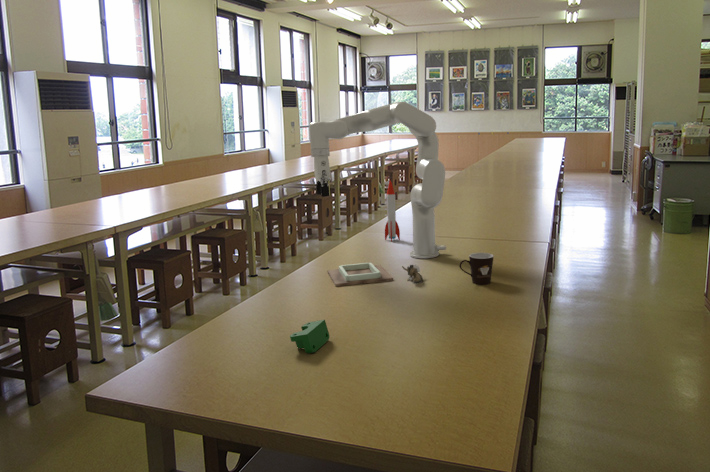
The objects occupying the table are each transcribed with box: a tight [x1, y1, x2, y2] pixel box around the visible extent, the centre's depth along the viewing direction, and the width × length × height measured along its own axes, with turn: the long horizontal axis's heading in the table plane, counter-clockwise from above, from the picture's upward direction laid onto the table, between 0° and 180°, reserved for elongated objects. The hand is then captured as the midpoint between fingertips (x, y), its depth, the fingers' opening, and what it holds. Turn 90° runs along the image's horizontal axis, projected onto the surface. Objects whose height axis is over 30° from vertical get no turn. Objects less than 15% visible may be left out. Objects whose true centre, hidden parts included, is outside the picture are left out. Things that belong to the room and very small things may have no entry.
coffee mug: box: [459, 252, 494, 286], centre depth 203 cm, size 12×9×10 cm
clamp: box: [289, 319, 330, 354], centre depth 153 cm, size 12×6×9 cm, turn 152°
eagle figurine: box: [401, 264, 424, 285], centre depth 209 cm, size 8×7×9 cm
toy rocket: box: [384, 179, 401, 243], centre depth 276 cm, size 6×6×30 cm
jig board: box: [327, 262, 394, 287], centre depth 218 cm, size 22×20×3 cm
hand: (322, 194), depth 230 cm, fingers open, 9 cm apart
